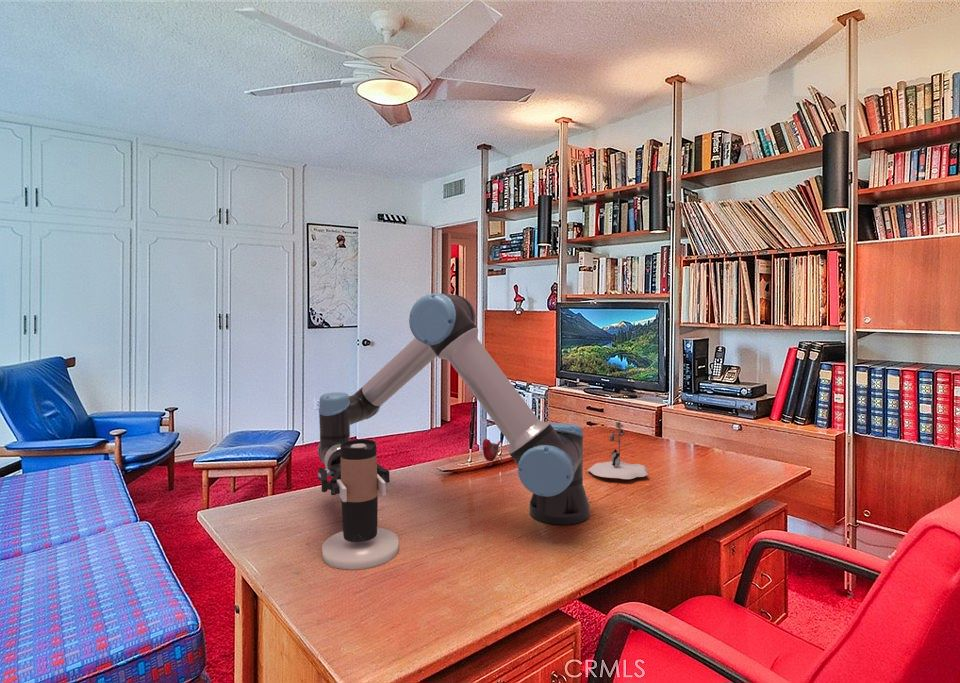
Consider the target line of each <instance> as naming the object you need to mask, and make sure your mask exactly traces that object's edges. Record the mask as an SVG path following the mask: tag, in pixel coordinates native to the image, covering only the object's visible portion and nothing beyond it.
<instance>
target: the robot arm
mask: <svg viewBox="0 0 960 683" xmlns="http://www.w3.org/2000/svg"><path fill="white" fill-rule="evenodd" d="M408 321H409V322H408V325H409V328H410V332H411V333H412V335H413V337H414V338H413V339H412V340H411V341H410V342H409V343H408V344H406V346H405V347H404V348H402V349H401V350H400V351H399V352H398V353H397V354H396V355H395V356H394V357H393V358H392V359H390V361H389V362H387V363H386V364H385V365H383V367H382V368H381V369H380V370H379V371H377V372H376V374H374V376H372V377H371V378H370V379H369V380H368V381H367V382H366V383H364V385H363V386H362V387H361V388H359V389H357V391H356V392H355V393H353V394H352V395H349V394H348V393H346V392H336V391H335V392H327V393H323V394H322V395H320V397H319V402H318V403H319V405H318V406H319V407H318V417H319V419H318V420H319V422H318V423H319V444H318V446H317V452H318V457H319V460H320V462H321V463H322V464H324V467H325V468H323V467H318V468H317V475H318V476H317V478H318V479H317V480H318V481H320V484H321V486H320V487H321V492H322V493H326V492H328V490H329V491H330V495H331V496H336V495H338V496H339V498H340V501H341V500H342V501H343V502H347V489H346V487H345V486H344V484H343V483H342V482H341V444H342V443H344V442H346V441H351V437H350V436H351V432H350V430H351V427H350V426H351V425H354V424H357V423H359V422H362V421H364V420H368V419H371V418H372V417H374V416H375V415H377V413H378V412H379V411H380V409H381V407H382V405H384V404H385V403H386V402H387V401H388V400H389V399H390V398H392V396H394V395H395V394H396V393H397V392H398V391H399V390H400V389H402V388H403V387H404V386H405V385H406V384H407V383H408V382H409V381H410V380H411V379H413V378H414V377H415V376H416V375H418V373H420V371H422V370H423V369H424V368H425V367H426V366H428V364H430V363H431V362H432V361H434V359H436V357H437V358H438V359H441V360H446V361H448V362H449V363H450V364H451V366H452V367H453V368H454V370H455V371H456V373H457V374H458V375H459V377H460V378H461V379H462V381H463V382H464V383H465V385H466V386H467V388H468V389H469V390H470V391H471V393H472V394H473V396H474V397H475V398H476V400H477V401H478V402H479V404H480V405H481V407H482V408H483V410H484V411H485V412H486V413H487V414H488V416H489V417H490V419H491V420H492V422H493V423H494V424H495V426H496V427H497V428H498V429H499V431H500V432H501V433H502V435H503V436H504V437H505V439H506V441H507V442H508V443H509V447H508V454H509V455H510V456H511V458H512V459H513V461H514V463H515V465H517V473H518V477H519V480H520V483H521V484H522V485H523V487H524V488H525V489H527V490H528V492H530V493H532V494H531V497H530V501H529V509H528V510H529V515H530V517H532V518H533V519H535V520H536V521H539V522H541V523H542V522H543V523H545V524H550V525H561V526H562V525H564V526H565V525H568V526H569V525H576V524H579V523H583V522H585V521H587V520H588V519H589V518H590V517H591V516H590V515H591V511H590V510H591V506H590V502H589V499H588V497H587V494H586V489H585V486H584V483H583V482H584V474H583V473H584V469H583V468H584V460H583V459H584V439H585V437H584V432H583V427H582V426H581V425H580V424H575V423H570V422H548V421H542V420H540V419H539V418H538V416H537V415H536V414H535V413H534V411H533V410H532V409H531V408H530V406H529V404H527V402H526V401H525V399H524V398H523V397H522V396H521V393H519V392H518V390H517V389H516V387H514V385H513V383H512V382H511V381H510V380H509V378H508V377H507V376H506V375H505V373H504V372H503V371H502V369H501V367H500V366H499V365H498V364H497V362H496V361H495V360H494V358H492V356H491V355H490V353H489V352H488V351H487V349H486V348H485V347H484V345H483V344H482V343H481V341H480V340H479V339H478V335H479V328H478V327H477V325H476V311H475V309H474V306H473V305H472V303H471V302H470V301H469V300H468V299H466V298H465V297H464V296H461V295H460V294H453V293H452V294H447V293H445V294H444V293H441V292H434V293H430V294H426V295H423V296H421V297H420V298H418V299H417V300H416V302H414V304H413V305H412V307H411V309H410V312H409V319H408ZM328 477H331V479H330V481H328ZM390 481H391V480H390V470H388V469H387V468H385V467H384V466H381V465H380V464H378V463H377V485H378V493H379V494H381V496H382V497H384V496H387V484H389V483H390Z"/></svg>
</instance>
